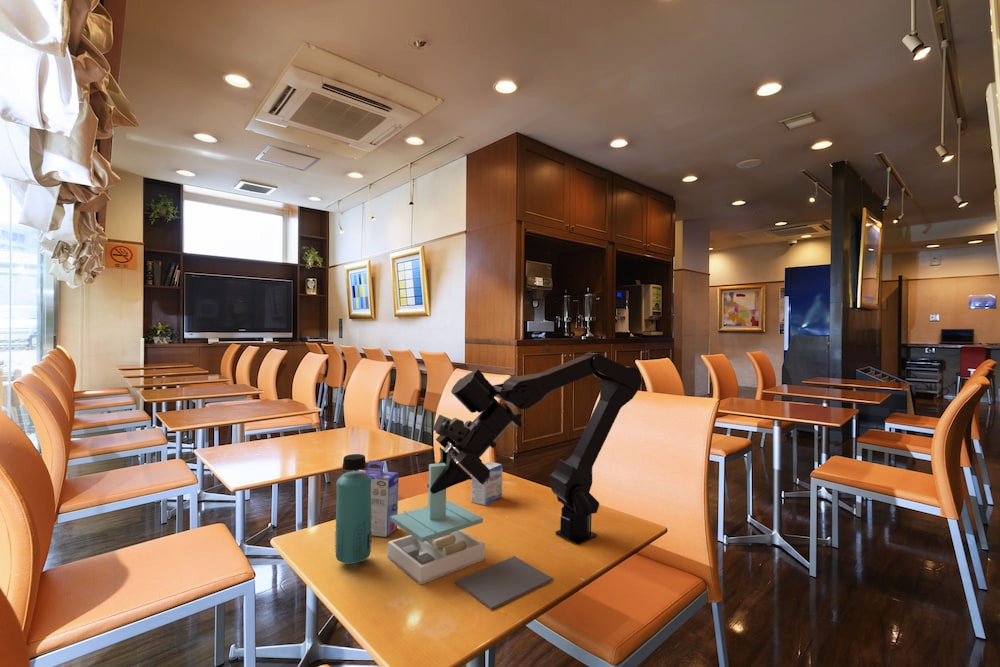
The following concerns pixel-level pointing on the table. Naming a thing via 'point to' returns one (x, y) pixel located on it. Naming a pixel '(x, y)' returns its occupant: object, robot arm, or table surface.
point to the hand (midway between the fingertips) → (430, 490)
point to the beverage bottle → (353, 512)
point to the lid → (435, 514)
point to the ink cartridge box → (382, 499)
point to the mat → (503, 582)
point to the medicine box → (488, 486)
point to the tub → (435, 555)
